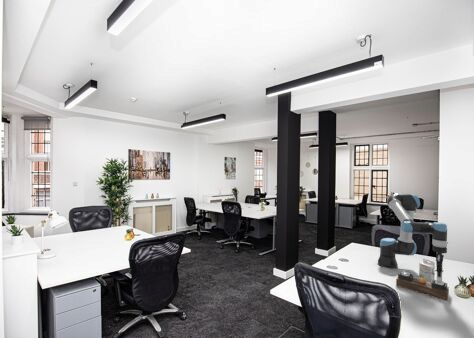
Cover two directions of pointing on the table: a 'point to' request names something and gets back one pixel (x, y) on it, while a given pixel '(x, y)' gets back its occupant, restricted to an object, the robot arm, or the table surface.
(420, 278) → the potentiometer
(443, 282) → the knob
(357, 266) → the table surface
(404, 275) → the knob
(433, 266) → the ink box
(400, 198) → the robot arm
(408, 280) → the brown long low box
